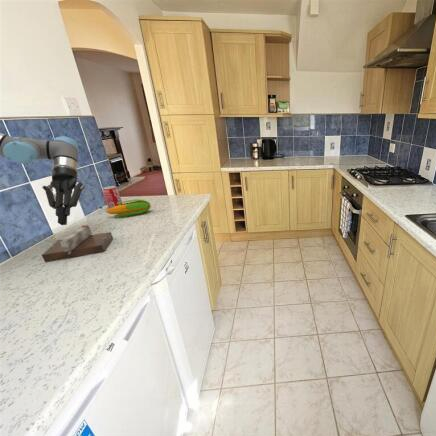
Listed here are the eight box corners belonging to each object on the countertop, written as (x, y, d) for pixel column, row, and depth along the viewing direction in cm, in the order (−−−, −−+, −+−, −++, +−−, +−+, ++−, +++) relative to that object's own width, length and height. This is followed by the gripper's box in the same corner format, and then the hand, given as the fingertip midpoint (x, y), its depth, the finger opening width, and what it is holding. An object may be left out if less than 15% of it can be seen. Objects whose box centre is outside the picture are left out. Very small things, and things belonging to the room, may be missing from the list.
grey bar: (70, 251, 87) (65, 240, 86) (64, 251, 87) (59, 241, 85) (92, 233, 100) (88, 224, 98) (86, 234, 100) (82, 225, 98)
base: (40, 266, 84) (36, 259, 83) (63, 243, 100) (60, 236, 98) (102, 255, 90) (99, 248, 88) (115, 235, 105) (113, 228, 104)
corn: (148, 199, 125) (101, 206, 117) (151, 213, 128) (106, 220, 120) (149, 196, 131) (104, 202, 123) (152, 209, 134) (109, 216, 126)
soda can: (122, 204, 142) (116, 184, 137) (124, 207, 137) (117, 187, 132) (108, 207, 138) (101, 187, 133) (109, 211, 133) (101, 189, 128)
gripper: (88, 174, 105) (88, 224, 97) (51, 177, 100) (47, 230, 93) (79, 164, 98) (77, 217, 90) (38, 167, 94) (33, 222, 86)
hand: (62, 223), depth 91 cm, fingers closed
